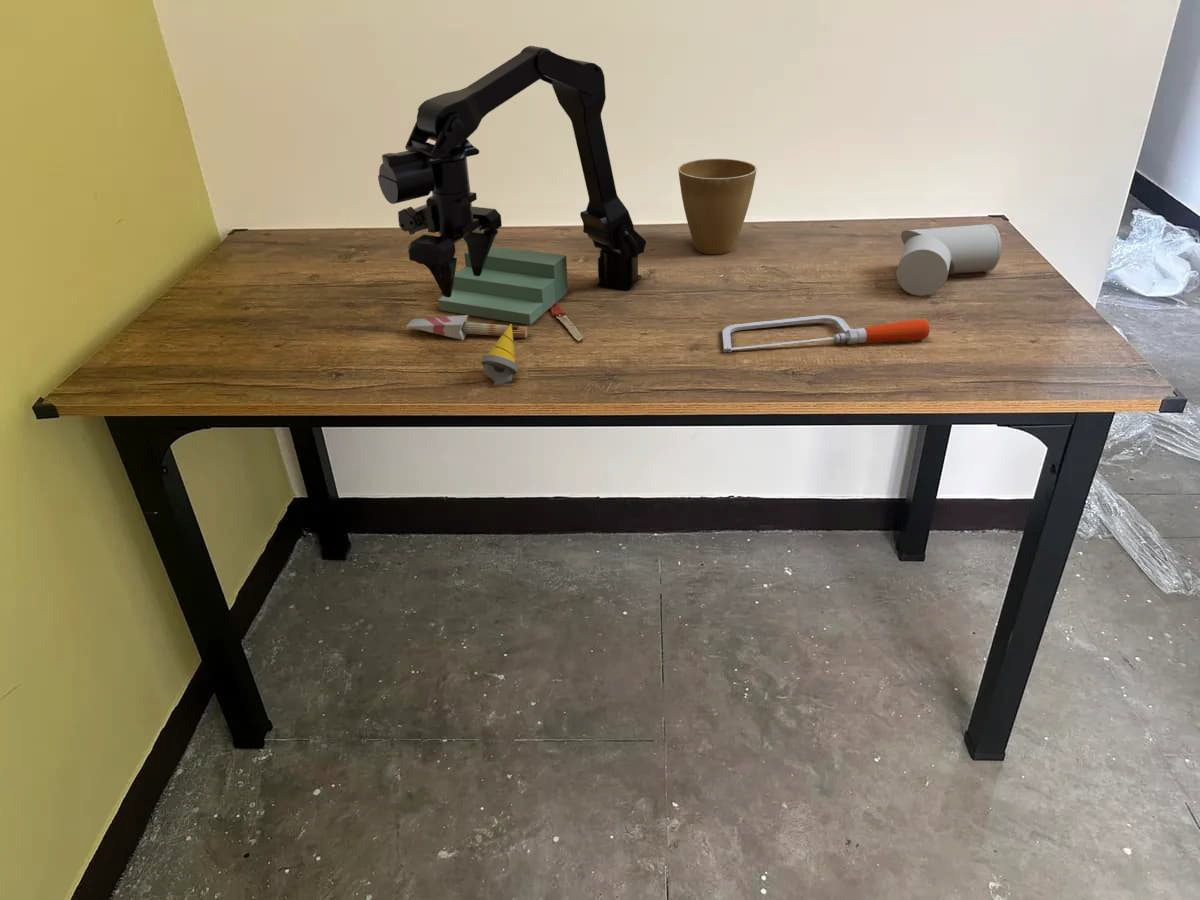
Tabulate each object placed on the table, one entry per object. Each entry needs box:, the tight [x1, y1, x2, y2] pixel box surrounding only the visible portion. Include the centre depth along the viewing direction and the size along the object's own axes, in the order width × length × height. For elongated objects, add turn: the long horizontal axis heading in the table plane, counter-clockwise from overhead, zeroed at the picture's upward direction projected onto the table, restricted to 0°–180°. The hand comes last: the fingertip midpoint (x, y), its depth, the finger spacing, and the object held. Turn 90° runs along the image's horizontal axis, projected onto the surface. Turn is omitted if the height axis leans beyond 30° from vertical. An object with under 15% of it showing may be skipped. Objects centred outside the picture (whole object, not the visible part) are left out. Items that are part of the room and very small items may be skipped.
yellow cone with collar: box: [481, 323, 519, 386], centre depth 133 cm, size 5×5×10 cm
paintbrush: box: [406, 314, 528, 341], centre depth 146 cm, size 4×3×20 cm
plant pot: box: [677, 158, 758, 255], centre depth 174 cm, size 15×15×16 cm
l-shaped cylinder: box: [895, 223, 1002, 297], centre depth 160 cm, size 18×10×20 cm
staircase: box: [437, 245, 569, 326], centre depth 157 cm, size 18×15×7 cm
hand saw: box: [721, 314, 930, 353], centre depth 143 cm, size 33×3×10 cm
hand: (462, 286), depth 142 cm, fingers open, 9 cm apart
